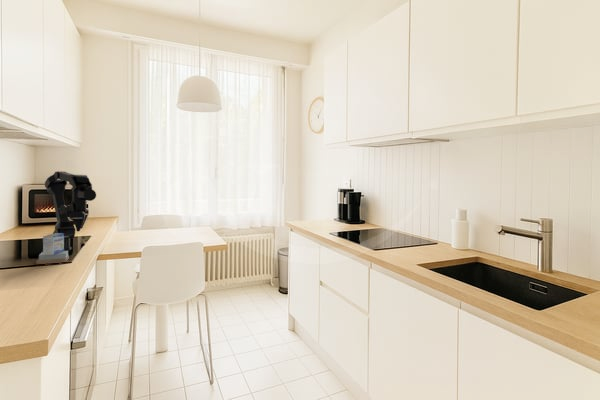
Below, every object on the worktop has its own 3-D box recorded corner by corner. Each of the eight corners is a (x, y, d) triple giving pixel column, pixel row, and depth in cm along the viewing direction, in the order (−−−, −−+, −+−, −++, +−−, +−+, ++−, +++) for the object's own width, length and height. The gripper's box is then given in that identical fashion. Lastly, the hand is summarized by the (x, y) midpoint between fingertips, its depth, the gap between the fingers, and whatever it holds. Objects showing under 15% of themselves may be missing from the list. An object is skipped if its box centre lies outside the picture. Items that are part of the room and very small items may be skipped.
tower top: (42, 257, 152) (41, 252, 152) (68, 255, 157) (67, 250, 156) (38, 260, 147) (38, 255, 146) (65, 258, 151) (65, 253, 151)
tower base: (40, 262, 152) (40, 257, 152) (68, 260, 157) (68, 255, 157) (36, 266, 146) (36, 261, 146) (66, 264, 151) (66, 259, 151)
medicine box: (53, 255, 148) (53, 236, 147) (42, 254, 147) (42, 236, 146) (64, 251, 155) (64, 233, 155) (54, 250, 155) (54, 232, 154)
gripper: (63, 198, 169) (63, 227, 170) (55, 200, 153) (56, 233, 154) (88, 198, 174) (88, 226, 175) (84, 200, 158) (84, 232, 159)
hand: (79, 229), depth 166 cm, fingers open, 9 cm apart
